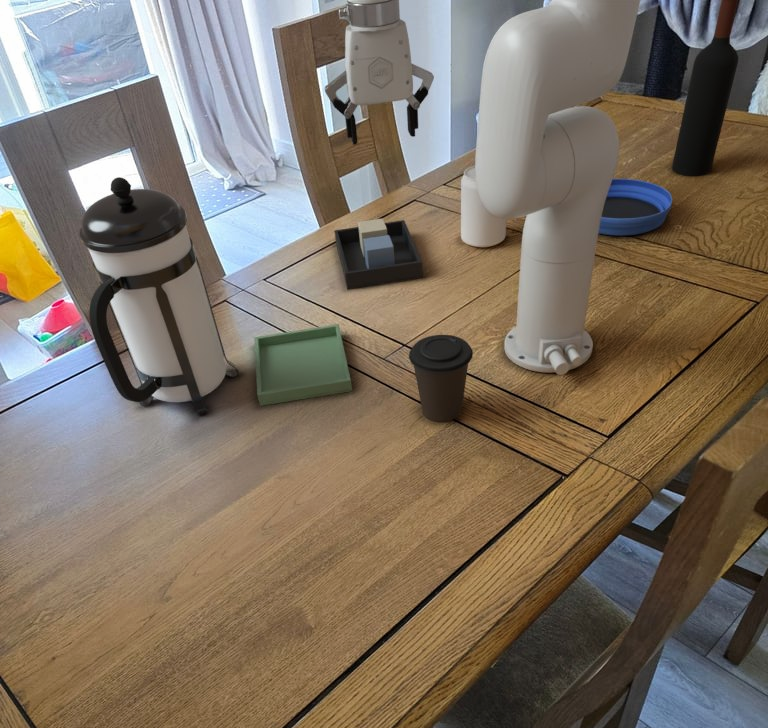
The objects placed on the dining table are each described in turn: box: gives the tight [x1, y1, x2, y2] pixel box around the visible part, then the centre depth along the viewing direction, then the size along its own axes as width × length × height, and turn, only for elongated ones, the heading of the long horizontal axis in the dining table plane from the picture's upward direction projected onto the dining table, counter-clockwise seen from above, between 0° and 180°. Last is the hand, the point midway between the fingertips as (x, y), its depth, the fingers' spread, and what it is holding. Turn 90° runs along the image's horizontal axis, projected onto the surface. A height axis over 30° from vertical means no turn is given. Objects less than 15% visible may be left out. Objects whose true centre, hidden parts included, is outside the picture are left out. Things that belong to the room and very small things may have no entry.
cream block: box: [357, 218, 387, 257], centre depth 126 cm, size 5×5×5 cm
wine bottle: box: [671, 0, 739, 177], centre depth 131 cm, size 8×8×30 cm
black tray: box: [334, 219, 424, 290], centre depth 124 cm, size 17×13×3 cm
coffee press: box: [79, 177, 239, 416], centre depth 90 cm, size 17×16×30 cm
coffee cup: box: [408, 334, 474, 423], centre depth 90 cm, size 8×8×10 cm
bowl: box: [598, 178, 673, 237], centre depth 128 cm, size 18×18×4 cm
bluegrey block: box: [363, 235, 395, 269], centre depth 121 cm, size 5×5×5 cm
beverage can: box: [460, 164, 507, 248], centre depth 123 cm, size 8×8×12 cm
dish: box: [253, 323, 353, 407], centre depth 103 cm, size 15×13×2 cm
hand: (383, 137), depth 115 cm, fingers open, 9 cm apart
